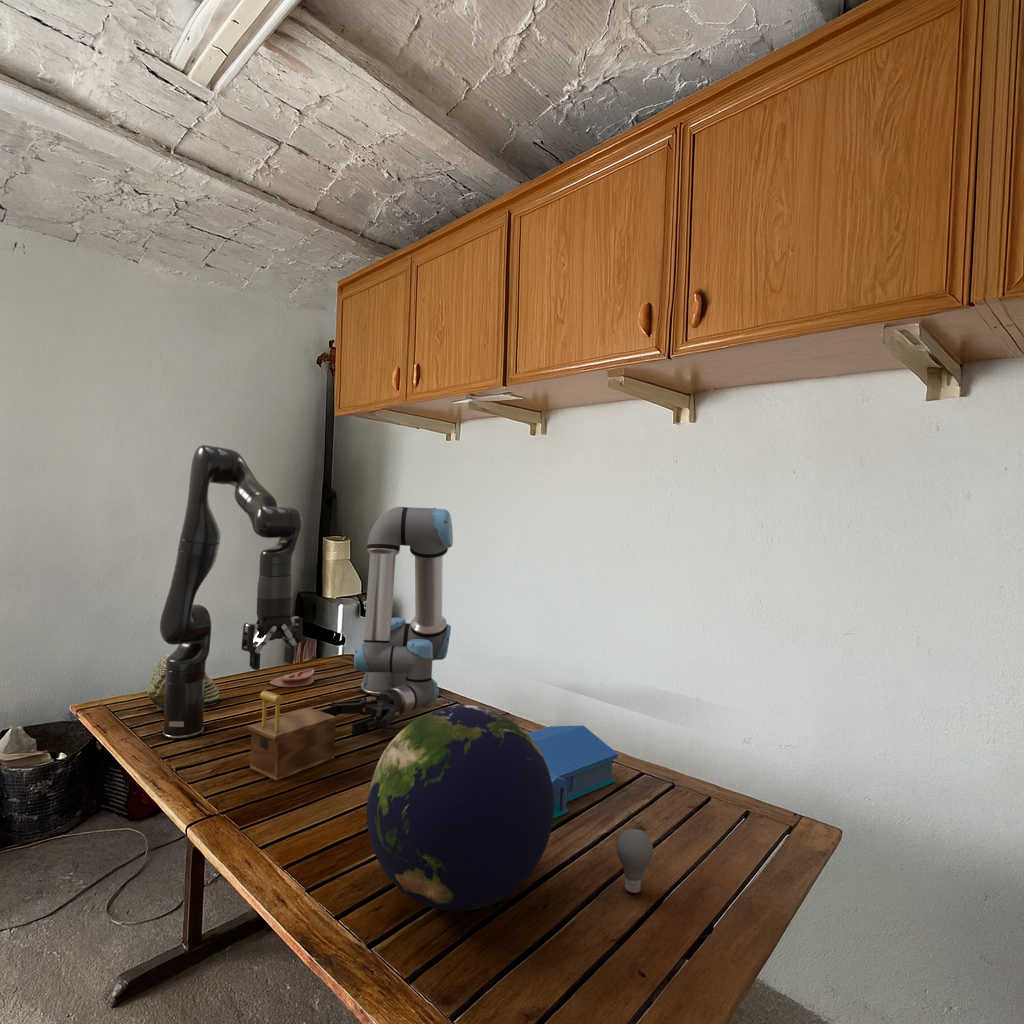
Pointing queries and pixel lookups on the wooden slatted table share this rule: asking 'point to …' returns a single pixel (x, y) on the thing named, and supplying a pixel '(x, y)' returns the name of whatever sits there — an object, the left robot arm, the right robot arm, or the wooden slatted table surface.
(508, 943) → the wooden slatted table surface
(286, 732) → the lid
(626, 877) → the light bulb
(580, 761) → the model building
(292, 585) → the left robot arm
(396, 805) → the globe
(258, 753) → the chest
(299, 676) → the anatomical model
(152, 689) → the fossil
